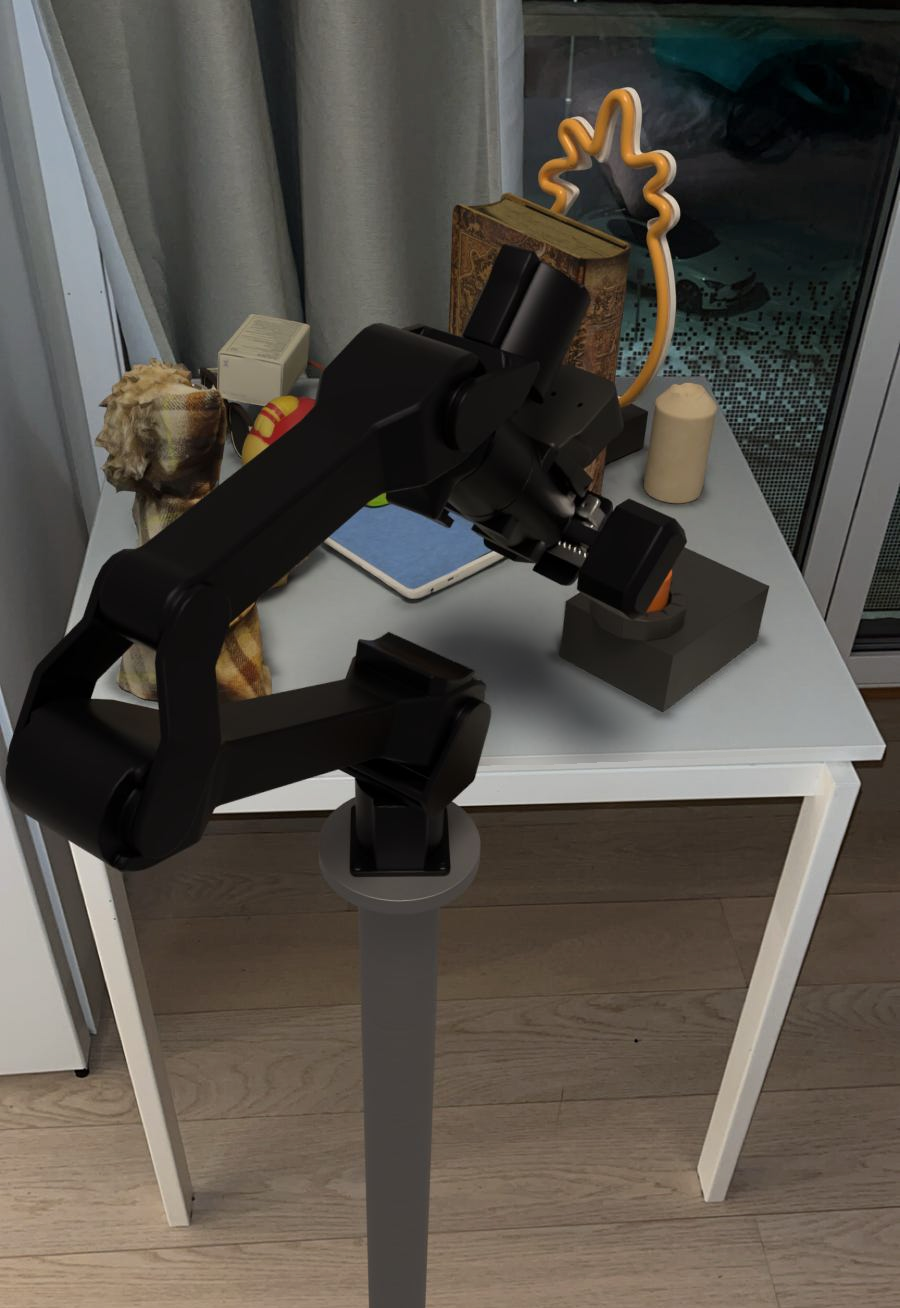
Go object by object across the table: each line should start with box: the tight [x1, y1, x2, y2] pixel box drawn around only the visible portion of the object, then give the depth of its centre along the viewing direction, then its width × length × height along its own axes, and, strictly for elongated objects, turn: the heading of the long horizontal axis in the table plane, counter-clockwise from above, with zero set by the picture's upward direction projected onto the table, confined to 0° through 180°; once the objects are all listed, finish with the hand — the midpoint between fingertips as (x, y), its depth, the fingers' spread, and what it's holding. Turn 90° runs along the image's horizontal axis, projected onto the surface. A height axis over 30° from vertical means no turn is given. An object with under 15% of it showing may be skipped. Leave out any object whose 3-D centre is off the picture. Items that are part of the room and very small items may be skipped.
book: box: [448, 192, 632, 496], centre depth 110 cm, size 16×6×25 cm, turn 39°
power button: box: [647, 569, 672, 612], centre depth 95 cm, size 4×4×2 cm
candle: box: [643, 382, 718, 504], centre depth 118 cm, size 6×6×10 cm
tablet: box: [323, 503, 505, 600], centre depth 113 cm, size 19×13×1 cm, turn 43°
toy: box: [241, 395, 315, 467], centre depth 114 cm, size 9×11×10 cm
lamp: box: [537, 86, 681, 465], centre depth 117 cm, size 17×9×32 cm, turn 42°
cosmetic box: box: [216, 313, 311, 407], centre depth 123 cm, size 6×4×12 cm
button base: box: [559, 546, 770, 713], centre depth 100 cm, size 14×10×7 cm
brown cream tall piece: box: [93, 357, 272, 705], centre depth 91 cm, size 14×14×25 cm
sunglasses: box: [197, 360, 326, 459], centre depth 127 cm, size 14×16×5 cm
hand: (586, 560), depth 87 cm, fingers closed
